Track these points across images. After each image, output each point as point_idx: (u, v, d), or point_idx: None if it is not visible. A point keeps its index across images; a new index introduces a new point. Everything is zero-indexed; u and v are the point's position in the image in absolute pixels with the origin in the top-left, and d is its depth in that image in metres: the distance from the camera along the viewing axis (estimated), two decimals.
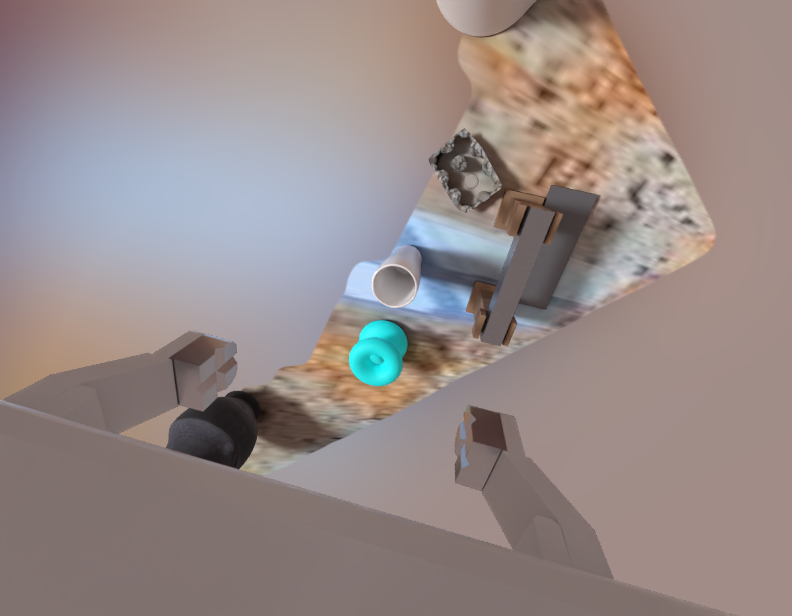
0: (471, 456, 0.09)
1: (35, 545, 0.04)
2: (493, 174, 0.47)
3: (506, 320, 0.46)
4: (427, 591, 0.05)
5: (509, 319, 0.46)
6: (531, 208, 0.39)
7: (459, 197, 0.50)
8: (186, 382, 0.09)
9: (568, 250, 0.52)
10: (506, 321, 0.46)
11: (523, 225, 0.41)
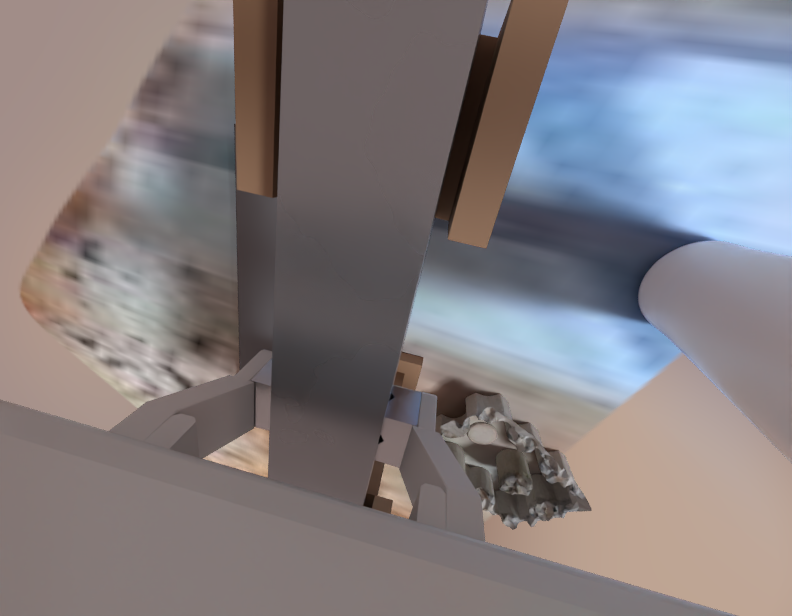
0: (384, 432, 0.09)
1: (37, 544, 0.04)
2: None
3: (307, 232, 0.06)
4: (427, 591, 0.05)
5: (288, 239, 0.06)
6: None
7: (511, 434, 0.21)
8: (266, 404, 0.09)
9: (246, 304, 0.22)
10: (303, 221, 0.06)
11: None
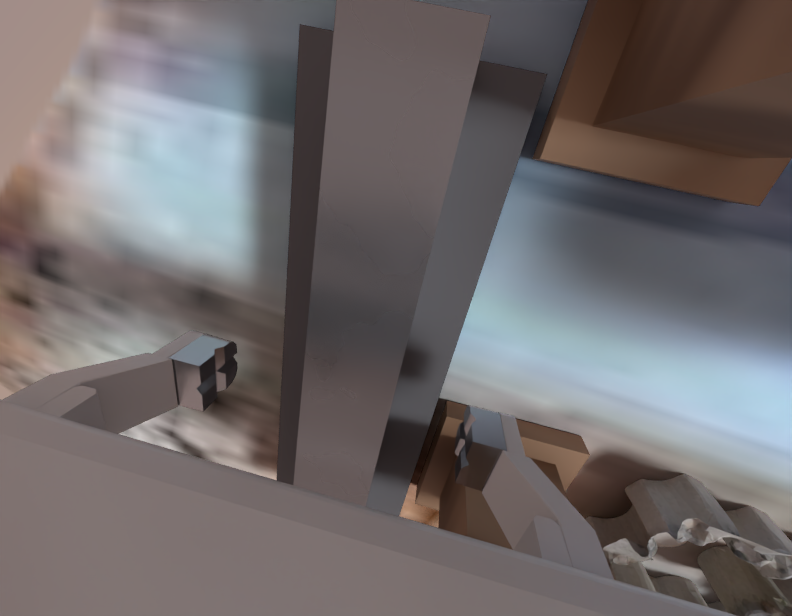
0: (471, 456, 0.09)
1: (37, 544, 0.04)
2: None
3: (341, 220, 0.08)
4: (427, 591, 0.05)
5: (326, 225, 0.08)
6: None
7: (744, 552, 0.12)
8: (186, 382, 0.09)
9: (297, 350, 0.14)
10: (339, 211, 0.08)
11: None
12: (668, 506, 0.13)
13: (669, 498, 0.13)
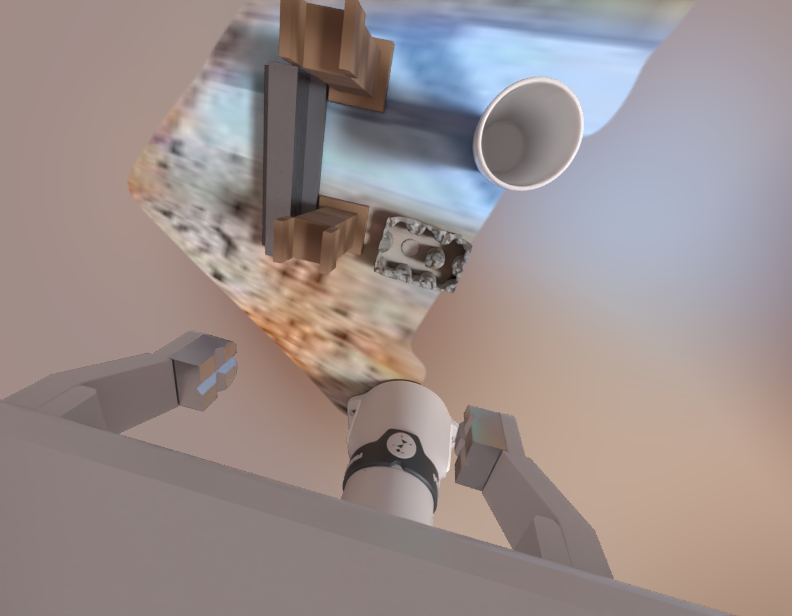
0: (471, 456, 0.09)
1: (35, 545, 0.04)
2: (392, 274, 0.39)
3: (273, 113, 0.33)
4: (427, 591, 0.05)
5: (270, 114, 0.33)
6: None
7: (409, 228, 0.37)
8: (186, 382, 0.09)
9: None
10: (272, 110, 0.33)
11: None
12: None
13: None
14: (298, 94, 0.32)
